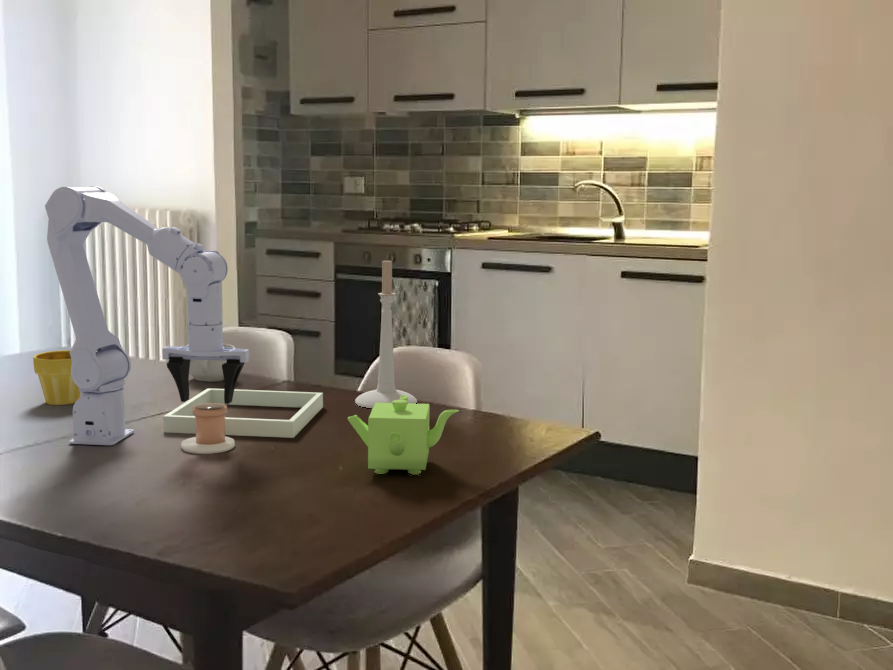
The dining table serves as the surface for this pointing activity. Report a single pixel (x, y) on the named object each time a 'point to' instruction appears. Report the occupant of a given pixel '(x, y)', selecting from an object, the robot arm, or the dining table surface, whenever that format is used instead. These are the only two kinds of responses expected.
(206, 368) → the teacup
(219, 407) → the terracotta pot
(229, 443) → the saucer
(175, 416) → the rectangular frame
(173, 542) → the dining table surface
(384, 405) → the kettle
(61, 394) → the plant pot
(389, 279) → the candlestick
